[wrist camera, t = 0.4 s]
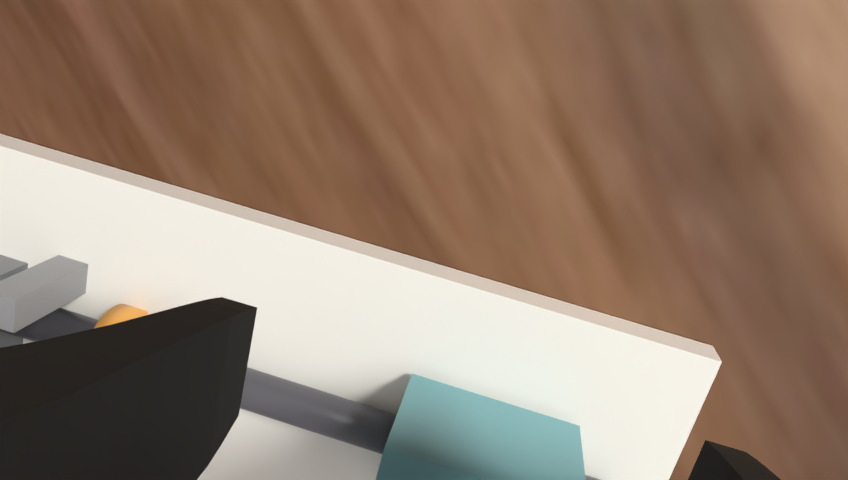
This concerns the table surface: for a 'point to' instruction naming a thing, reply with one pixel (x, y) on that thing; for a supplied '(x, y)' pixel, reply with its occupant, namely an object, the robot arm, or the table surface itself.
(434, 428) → the sleeve
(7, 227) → the cable board
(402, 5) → the table surface
